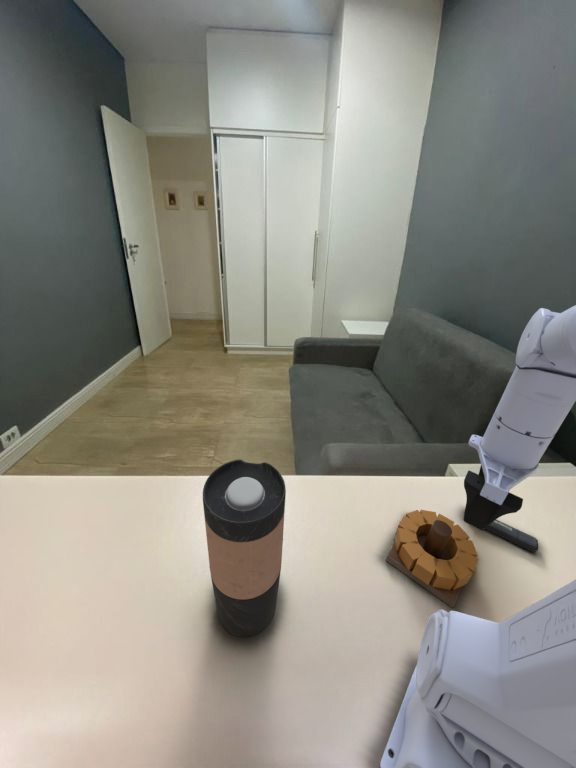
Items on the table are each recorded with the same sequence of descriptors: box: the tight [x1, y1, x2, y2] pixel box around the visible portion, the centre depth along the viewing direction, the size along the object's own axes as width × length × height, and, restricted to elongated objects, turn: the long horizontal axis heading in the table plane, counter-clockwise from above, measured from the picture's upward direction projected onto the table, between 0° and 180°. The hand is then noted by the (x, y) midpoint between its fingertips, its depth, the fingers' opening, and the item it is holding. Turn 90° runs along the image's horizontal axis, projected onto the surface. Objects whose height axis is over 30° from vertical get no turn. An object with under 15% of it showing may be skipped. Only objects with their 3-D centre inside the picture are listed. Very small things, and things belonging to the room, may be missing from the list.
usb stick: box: [484, 519, 539, 553], centre depth 48 cm, size 10×3×2 cm, turn 55°
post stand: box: [385, 520, 462, 609], centre depth 42 cm, size 9×9×7 cm
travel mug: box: [202, 459, 287, 638], centre depth 33 cm, size 8×8×20 cm
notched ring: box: [394, 509, 479, 590], centre depth 43 cm, size 10×10×2 cm
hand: (479, 504), depth 41 cm, fingers open, 7 cm apart
